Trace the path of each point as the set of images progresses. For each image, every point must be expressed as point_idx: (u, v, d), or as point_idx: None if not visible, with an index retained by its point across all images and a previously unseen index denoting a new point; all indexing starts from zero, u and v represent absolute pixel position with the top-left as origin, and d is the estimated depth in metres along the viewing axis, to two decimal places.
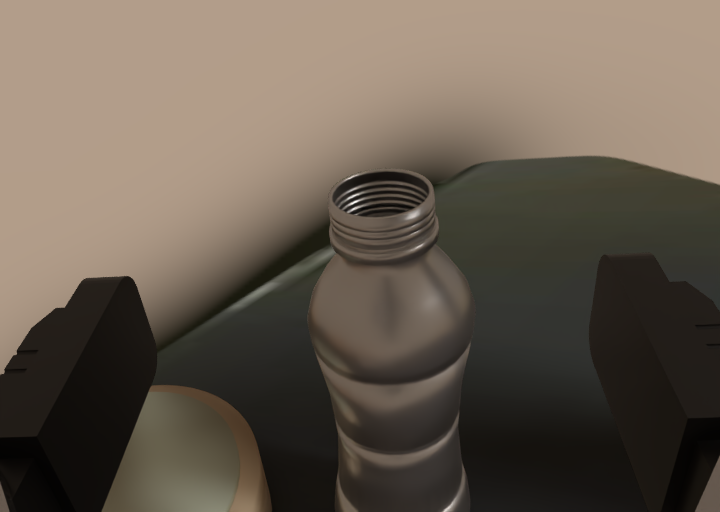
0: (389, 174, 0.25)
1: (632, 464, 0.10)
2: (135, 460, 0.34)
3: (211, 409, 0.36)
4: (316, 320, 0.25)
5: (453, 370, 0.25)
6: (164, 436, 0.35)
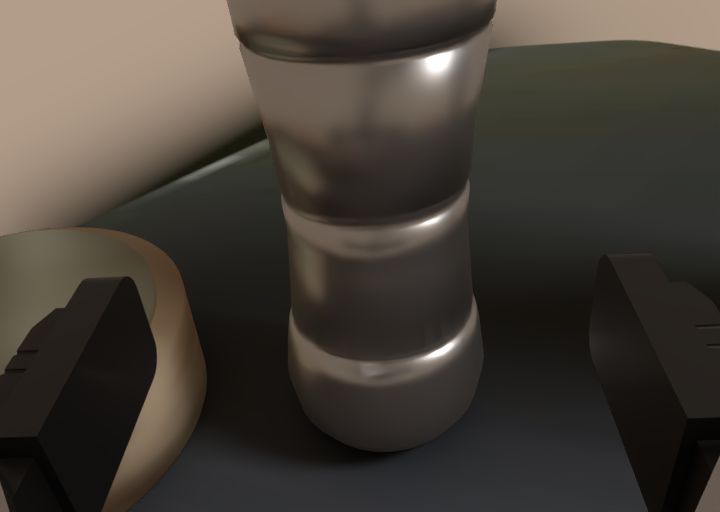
0: None
1: (632, 464, 0.10)
2: (8, 300, 0.24)
3: (125, 245, 0.26)
4: None
5: (463, 57, 0.15)
6: (54, 274, 0.25)
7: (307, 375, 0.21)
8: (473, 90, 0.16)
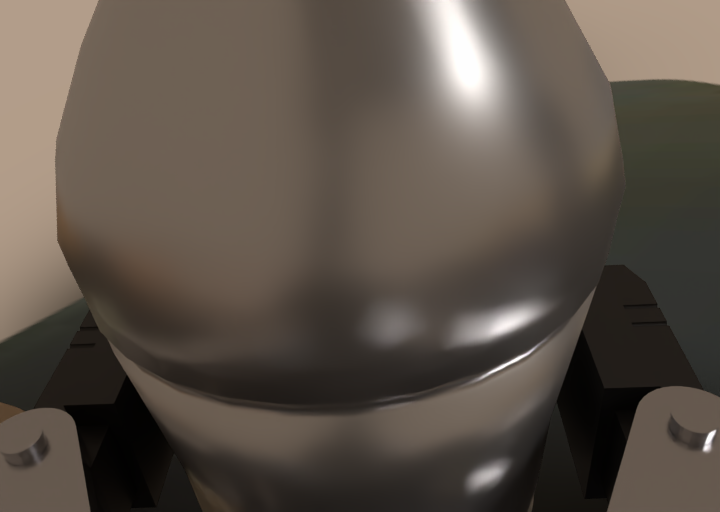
0: None
1: (568, 438, 0.10)
2: None
3: None
4: None
5: (555, 356, 0.07)
6: None
7: None
8: None
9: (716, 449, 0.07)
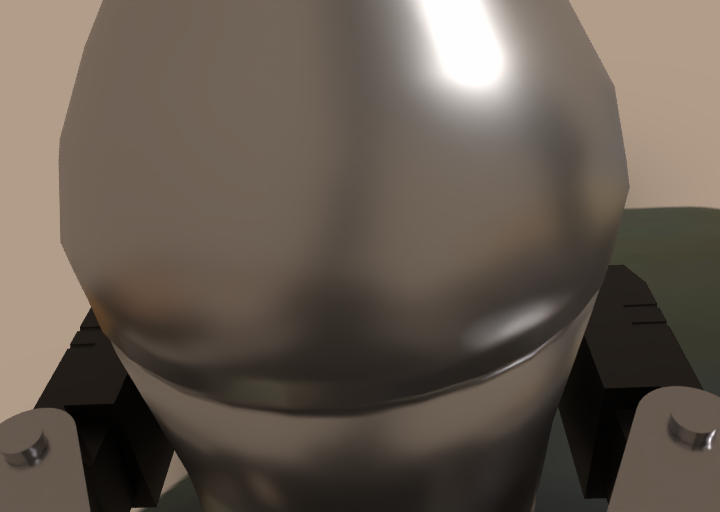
0: None
1: (568, 438, 0.10)
2: None
3: None
4: None
5: (558, 358, 0.07)
6: None
7: None
8: None
9: (716, 448, 0.07)
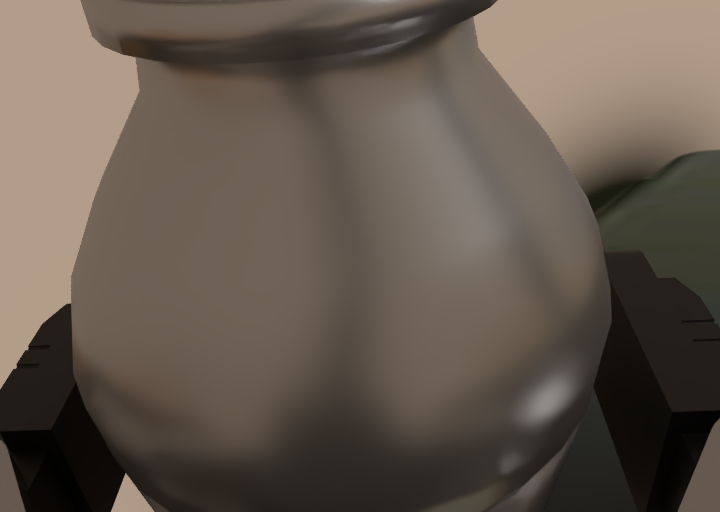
0: None
1: (620, 459, 0.10)
2: None
3: None
4: None
5: (544, 482, 0.07)
6: None
7: None
8: (553, 488, 0.09)
9: None
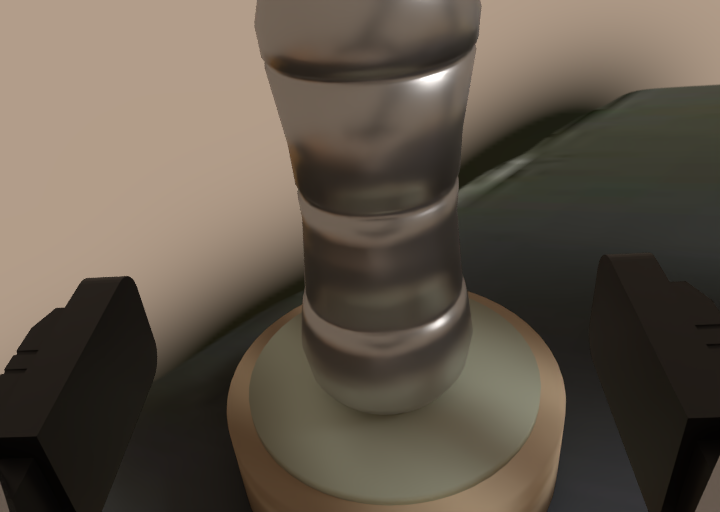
0: None
1: (632, 464, 0.10)
2: None
3: (472, 301, 0.31)
4: (263, 3, 0.18)
5: (451, 77, 0.18)
6: None
7: (319, 347, 0.24)
8: (460, 103, 0.20)
9: None
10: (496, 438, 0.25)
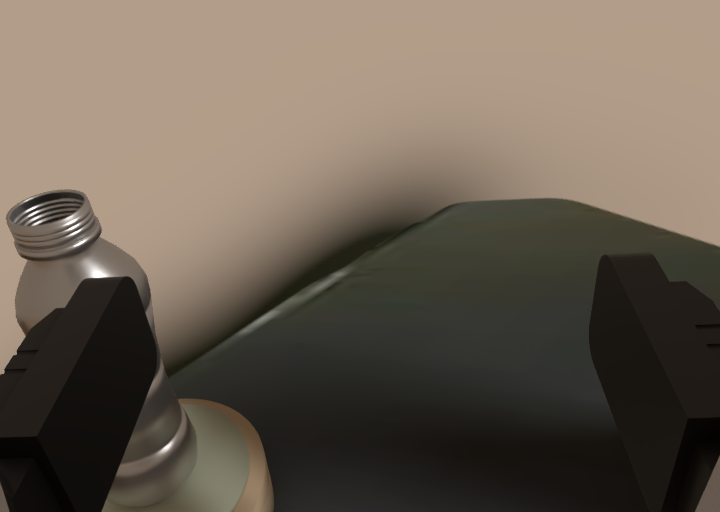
0: (68, 194, 0.33)
1: (632, 464, 0.10)
2: None
3: (227, 418, 0.47)
4: (15, 302, 0.33)
5: None
6: None
7: None
8: None
9: None
10: None
